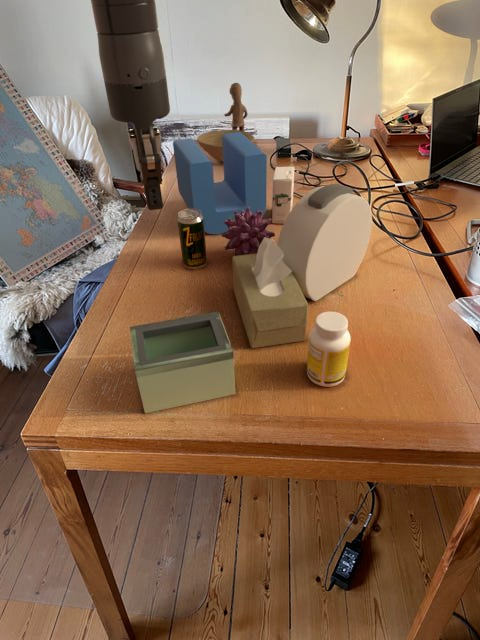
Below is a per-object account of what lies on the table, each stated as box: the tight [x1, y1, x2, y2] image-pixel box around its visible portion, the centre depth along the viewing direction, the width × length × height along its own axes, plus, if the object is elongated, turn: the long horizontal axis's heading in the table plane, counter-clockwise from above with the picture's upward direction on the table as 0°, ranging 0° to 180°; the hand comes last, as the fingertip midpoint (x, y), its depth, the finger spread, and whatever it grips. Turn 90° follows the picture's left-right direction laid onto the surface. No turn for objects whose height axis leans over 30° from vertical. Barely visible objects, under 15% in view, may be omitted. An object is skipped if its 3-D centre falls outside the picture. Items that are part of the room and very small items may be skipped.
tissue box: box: [231, 237, 309, 349], centre depth 82 cm, size 19×10×16 cm, turn 10°
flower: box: [220, 207, 276, 256], centre depth 100 cm, size 12×12×12 cm
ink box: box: [271, 166, 295, 225], centre depth 115 cm, size 9×5×12 cm, turn 172°
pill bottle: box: [306, 311, 352, 388], centre depth 70 cm, size 6×6×11 cm
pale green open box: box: [129, 310, 236, 414], centre depth 71 cm, size 14×9×10 cm
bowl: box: [196, 129, 255, 162], centre depth 149 cm, size 18×18×8 cm
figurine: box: [223, 82, 248, 131], centre depth 159 cm, size 9×8×20 cm
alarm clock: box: [276, 183, 373, 302], centre depth 88 cm, size 21×8×20 cm, turn 135°
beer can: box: [177, 208, 208, 270], centre depth 98 cm, size 5×5×12 cm
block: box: [172, 132, 268, 235], centre depth 114 cm, size 18×18×18 cm
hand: (155, 207), depth 66 cm, fingers closed
